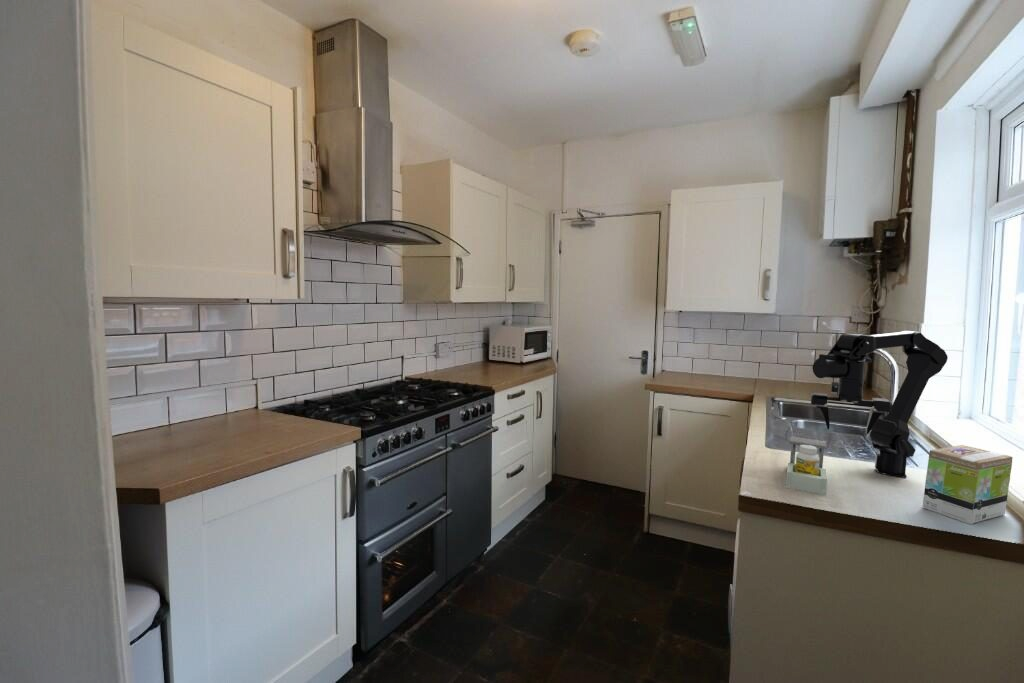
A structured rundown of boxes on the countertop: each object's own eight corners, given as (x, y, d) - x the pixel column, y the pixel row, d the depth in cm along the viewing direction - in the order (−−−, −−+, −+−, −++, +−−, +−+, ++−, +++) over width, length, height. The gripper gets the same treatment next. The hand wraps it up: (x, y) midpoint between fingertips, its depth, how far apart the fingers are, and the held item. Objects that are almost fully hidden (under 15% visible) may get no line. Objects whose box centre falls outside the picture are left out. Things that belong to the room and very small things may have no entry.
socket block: (823, 472, 140) (824, 459, 140) (826, 495, 123) (827, 480, 123) (788, 466, 145) (789, 453, 145) (785, 487, 128) (786, 473, 128)
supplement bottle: (821, 482, 130) (824, 447, 129) (811, 486, 127) (814, 451, 126) (800, 476, 134) (803, 442, 133) (790, 479, 131) (793, 445, 130)
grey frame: (823, 469, 140) (825, 441, 140) (824, 475, 135) (826, 446, 135) (788, 463, 145) (790, 436, 144) (787, 468, 140) (789, 441, 139)
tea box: (973, 526, 108) (980, 462, 106) (920, 508, 117) (926, 449, 116) (1007, 515, 114) (1014, 454, 112) (954, 499, 123) (960, 442, 122)
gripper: (888, 376, 139) (883, 429, 140) (812, 371, 148) (808, 420, 150) (894, 382, 129) (889, 439, 130) (812, 376, 139) (809, 428, 140)
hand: (847, 431), depth 138 cm, fingers open, 9 cm apart
